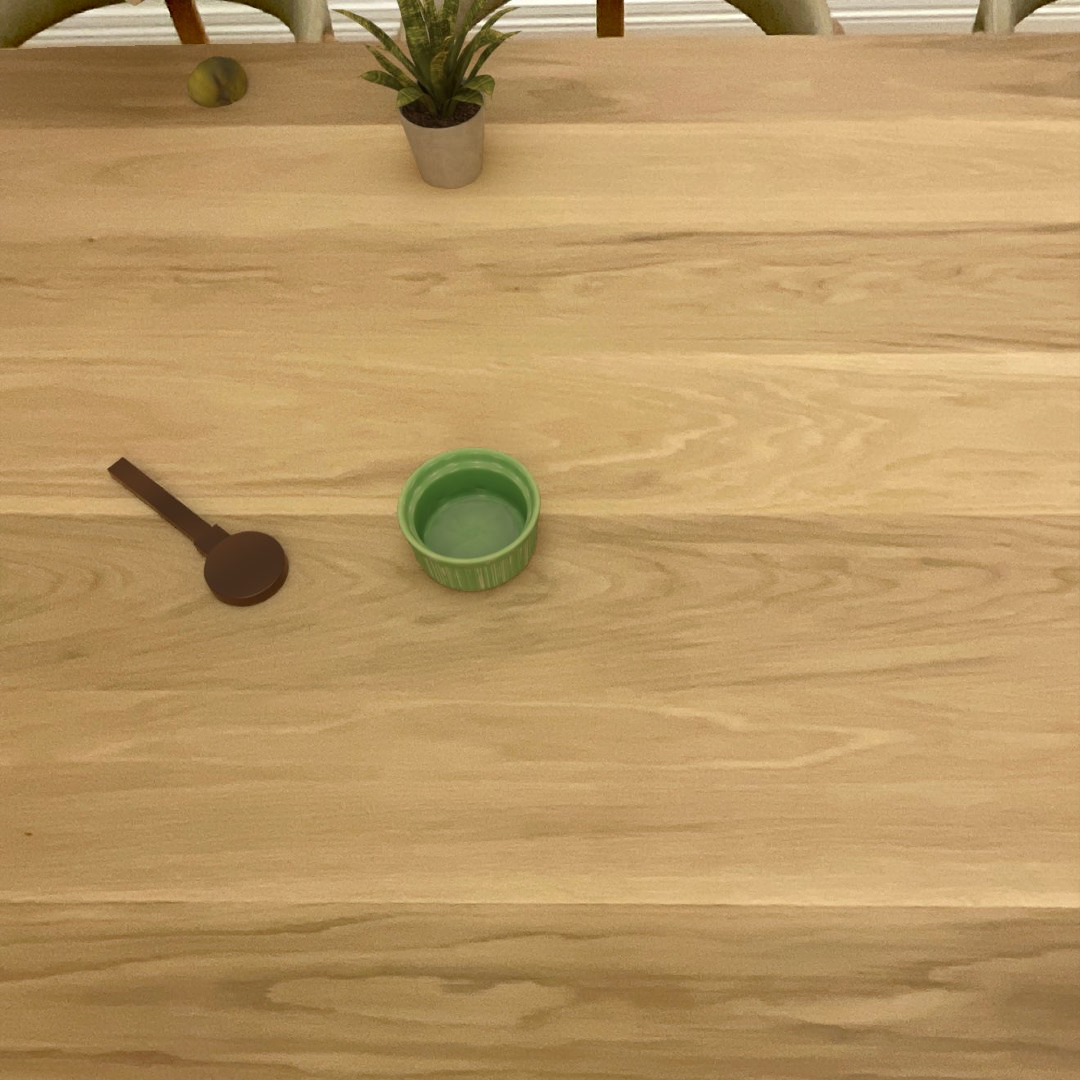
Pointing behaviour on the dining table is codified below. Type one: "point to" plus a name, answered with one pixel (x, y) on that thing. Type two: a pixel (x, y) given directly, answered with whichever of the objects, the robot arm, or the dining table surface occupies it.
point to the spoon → (215, 544)
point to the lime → (217, 82)
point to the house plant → (439, 87)
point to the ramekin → (471, 517)
